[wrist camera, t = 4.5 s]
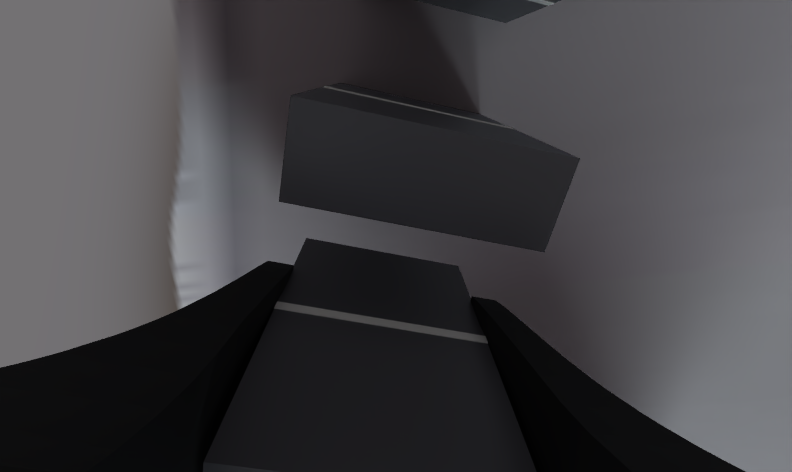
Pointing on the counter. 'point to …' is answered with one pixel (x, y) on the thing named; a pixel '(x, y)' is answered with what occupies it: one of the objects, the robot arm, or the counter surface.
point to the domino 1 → (494, 7)
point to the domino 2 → (422, 166)
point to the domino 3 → (370, 375)
